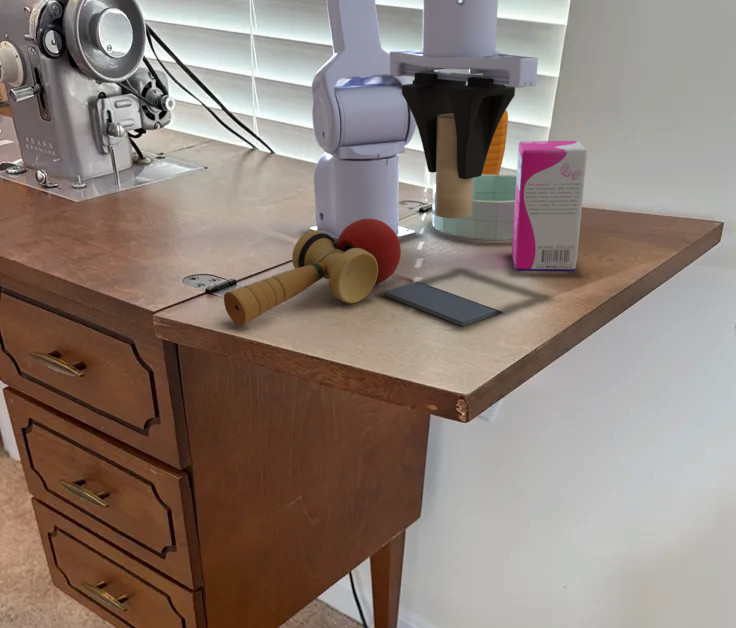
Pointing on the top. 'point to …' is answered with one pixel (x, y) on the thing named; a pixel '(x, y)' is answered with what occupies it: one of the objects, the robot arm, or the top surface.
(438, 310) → the felt mat
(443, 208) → the birch peg
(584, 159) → the supplement box
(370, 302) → the top surface
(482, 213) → the bowl
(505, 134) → the carrot
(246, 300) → the kendama
